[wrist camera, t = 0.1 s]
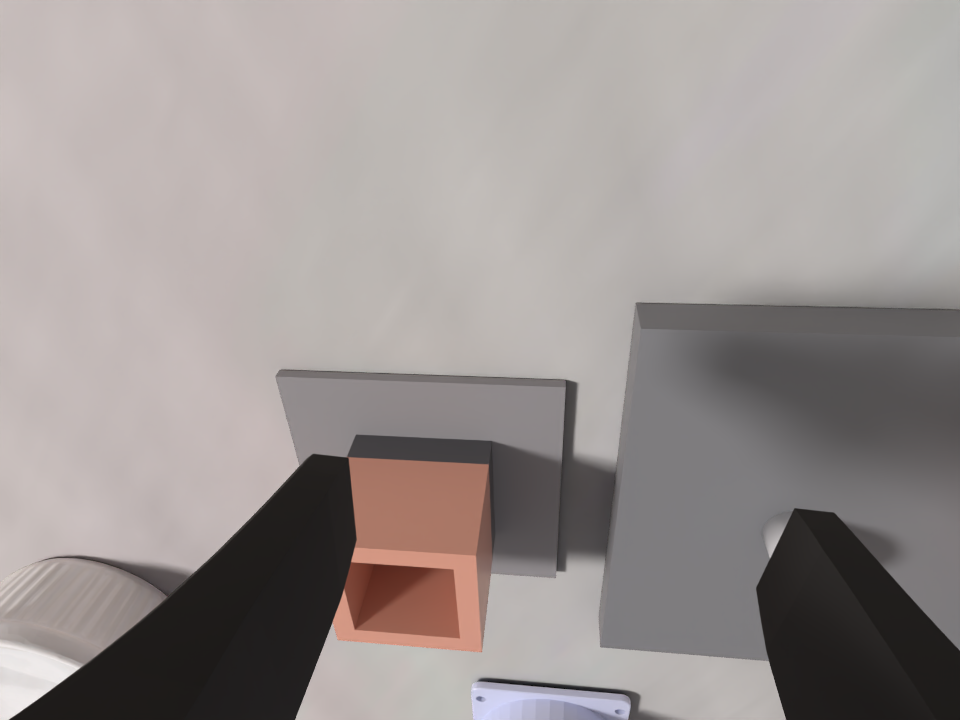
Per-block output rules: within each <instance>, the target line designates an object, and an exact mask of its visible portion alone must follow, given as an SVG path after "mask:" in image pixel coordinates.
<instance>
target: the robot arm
mask: <svg viewBox="0 0 960 720" xmlns="http://www.w3.org/2000/svg"><path fill="white" fill-rule="evenodd" d="M356 541H357V537H356V526H355V516H354V506H353V496H352V486H351V476H350V466H349V458H347V457H338V456H329V455H321V454H312V455H310V456H309V457H308V458H307V459H306V460H305V461H304V462H303V463H302V464H301V465H300V466H299V467H298V468H297V470H296V471H295V472H294V473H293V474H292V475H291V476H290V477H289V478H288V479H287V480H286V482H285V483H284V484H283V485H282V486H281V487H280V488H279V489H278V490H277V491H276V492H275V493H274V494H273V495H272V497H271V498H270V499H269V500H268V501H267V502H266V503H265V504H264V505H263V506H262V507H261V508H260V509H259V510H258V511H257V512H256V513H255V514H254V515H253V516H252V517H251V518H250V519H249V520H248V521H247V522H246V523H245V524H244V525H243V526H242V527H241V528H240V529H239V530H238V531H237V532H236V533H235V534H234V535H233V536H232V537H231V538H230V539H229V540H228V541H227V542H226V543H225V544H224V545H223V546H222V547H221V548H220V549H219V550H218V551H217V552H216V553H215V554H214V555H213V556H212V557H211V558H210V559H209V560H208V561H207V562H206V563H205V564H203V565H202V566H201V567H200V568H199V569H198V570H197V571H196V572H195V573H194V574H192V575H191V576H190V577H189V578H188V579H187V580H186V581H185V582H184V583H183V584H181V585H180V586H179V587H178V588H177V589H176V590H175V591H174V592H173V593H172V594H170V595H169V596H168V597H167V598H166V599H165V600H164V601H163V602H161V603H160V604H159V605H158V606H157V607H156V608H154V609H153V610H152V611H151V612H150V613H149V614H147V615H146V616H145V617H144V618H143V619H141V620H140V621H139V622H138V623H137V624H135V625H134V626H133V627H132V628H131V629H129V630H128V631H127V632H126V633H124V634H123V635H122V636H121V637H119V638H118V639H117V640H116V641H114V642H113V643H112V644H111V645H109V646H108V647H107V648H106V649H104V650H103V651H102V652H101V653H99V654H98V655H97V656H95V657H94V658H93V659H92V660H90V661H89V662H88V663H86V664H85V665H83V666H82V667H81V668H79V669H78V670H77V671H75V672H74V673H73V674H71V675H70V676H69V677H67V678H66V679H65V680H63V681H62V682H61V683H59V684H58V685H57V686H55V687H54V688H52V689H51V690H50V691H48V692H47V693H46V694H44V695H43V696H42V697H40V698H39V699H37V700H36V701H35V702H33V703H32V704H30V705H29V706H28V707H26V708H25V709H23V710H22V711H20V712H19V713H18V714H16V715H15V716H13V717H12V718H10V719H9V720H295V718H296V716H297V713H298V710H299V708H300V705H301V703H302V700H303V697H304V695H305V692H306V690H307V687H308V684H309V682H310V679H311V677H312V674H313V672H314V669H315V666H316V664H317V661H318V659H319V656H320V653H321V651H322V648H323V646H324V643H325V640H326V638H327V635H328V633H329V630H330V627H331V625H332V622H333V619H334V617H335V614H336V611H337V609H338V606H339V603H340V601H341V598H342V595H343V591H344V587H345V583H346V580H347V576H348V572H349V568H350V565H351V561H352V557H353V553H354V549H355V545H356ZM756 592H757V598H758V605H759V612H760V618H761V624H762V630H763V635H764V641H765V646H766V652H767V655H768V659H769V662H770V666H771V670H772V673H773V676H774V680H775V683H776V687H777V690H778V693H779V697H780V700H781V704H782V707H783V710H784V714H785V717H786V720H960V650H959V649H958V648H957V647H956V646H955V645H954V644H953V643H952V642H951V641H950V640H949V639H948V637H947V636H946V635H945V634H944V633H943V632H942V631H941V630H940V629H939V628H938V627H937V626H936V625H935V623H934V622H933V621H932V620H931V619H930V618H929V617H928V616H927V615H926V614H925V613H924V612H923V610H922V609H921V608H920V607H919V606H918V605H917V604H916V603H915V602H914V601H913V599H912V598H911V597H910V596H909V595H908V594H907V593H906V592H905V591H904V589H903V588H902V587H901V586H900V585H899V584H898V583H897V582H896V581H895V579H894V578H893V577H892V576H891V575H890V574H889V573H888V572H887V570H886V569H885V568H884V567H883V566H882V565H881V564H880V563H879V561H878V560H877V559H876V558H875V557H874V556H873V555H872V554H871V552H870V551H869V550H868V549H867V548H866V547H865V546H864V545H863V543H862V542H861V541H860V540H859V539H858V538H857V537H856V536H855V535H854V533H853V532H852V531H851V530H850V529H849V528H848V527H847V526H846V525H845V523H844V522H843V521H842V520H841V519H840V518H839V517H838V516H837V515H836V514H835V513H834V512H825V511H816V510H807V509H799V508H794V510H793V512H792V514H791V516H790V518H789V520H788V523H787V525H786V527H785V529H784V531H783V533H782V535H781V537H780V539H779V541H778V543H777V545H776V547H775V549H774V552H773V554H772V556H771V558H770V560H769V562H768V564H767V566H766V568H765V570H764V572H763V574H762V576H761V578H760V581H759V583H758V585H757V587H756ZM471 698H472V710H473V720H628V719H629V714H630V709H631V702H630V698H629V697H628V696H626V695H623V694H614V693H603V692H592V691H581V690H570V689H559V688H548V687H537V686H525V685H514V684H503V683H492V682H475V683H473V684H472V688H471Z"/></svg>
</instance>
